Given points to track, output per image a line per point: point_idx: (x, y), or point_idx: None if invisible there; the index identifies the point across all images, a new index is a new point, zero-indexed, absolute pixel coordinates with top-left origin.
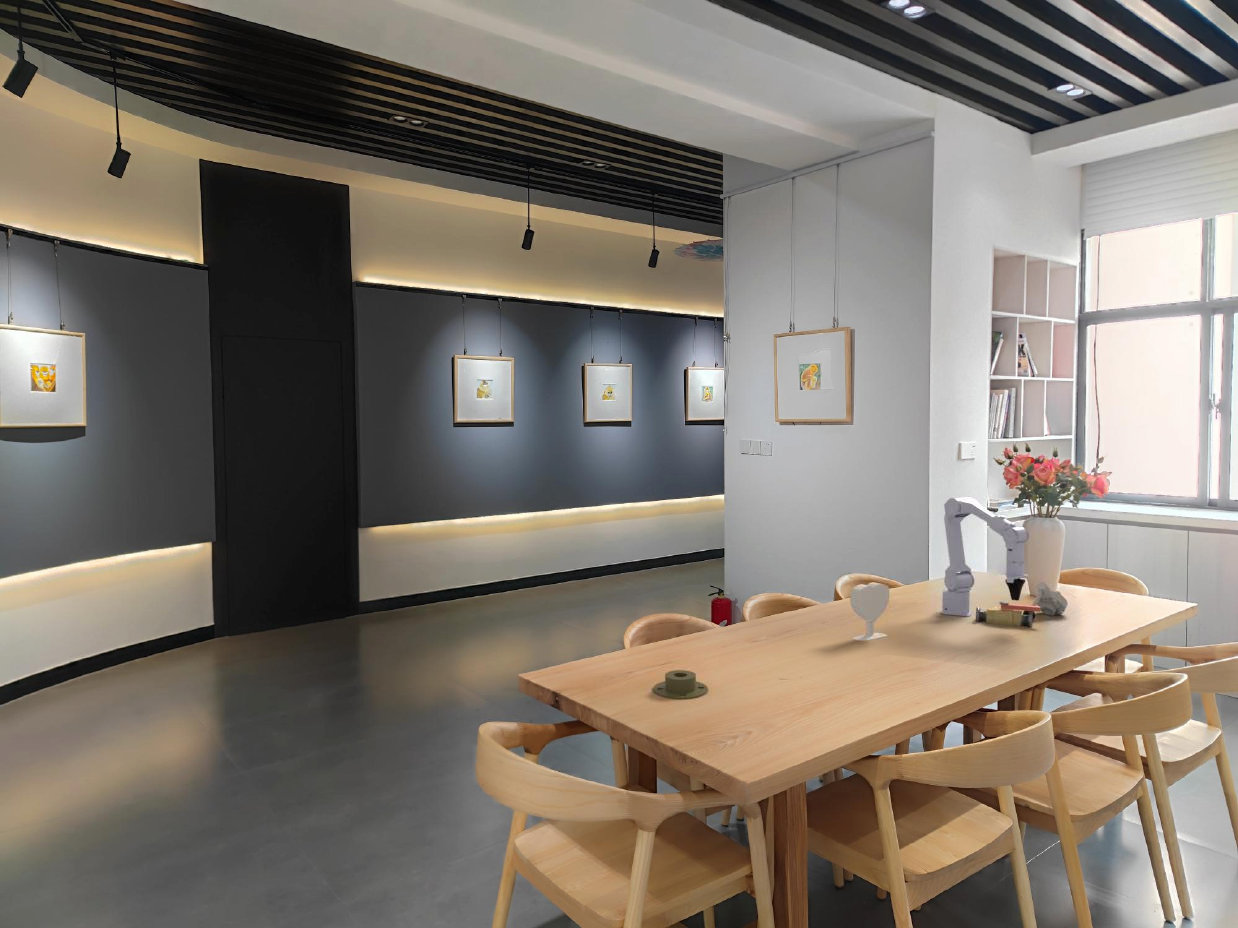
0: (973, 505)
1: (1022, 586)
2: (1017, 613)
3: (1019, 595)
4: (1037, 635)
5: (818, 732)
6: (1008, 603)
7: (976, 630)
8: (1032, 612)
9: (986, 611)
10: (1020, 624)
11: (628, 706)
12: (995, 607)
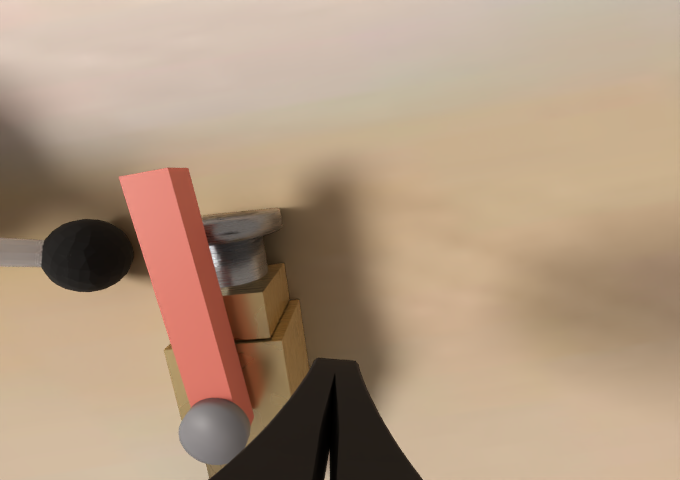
0: None
1: (239, 473)
2: (267, 307)
3: (342, 386)
4: (461, 145)
5: None
6: (216, 405)
7: (497, 423)
8: (83, 238)
9: None
10: (281, 266)
11: None
12: None
